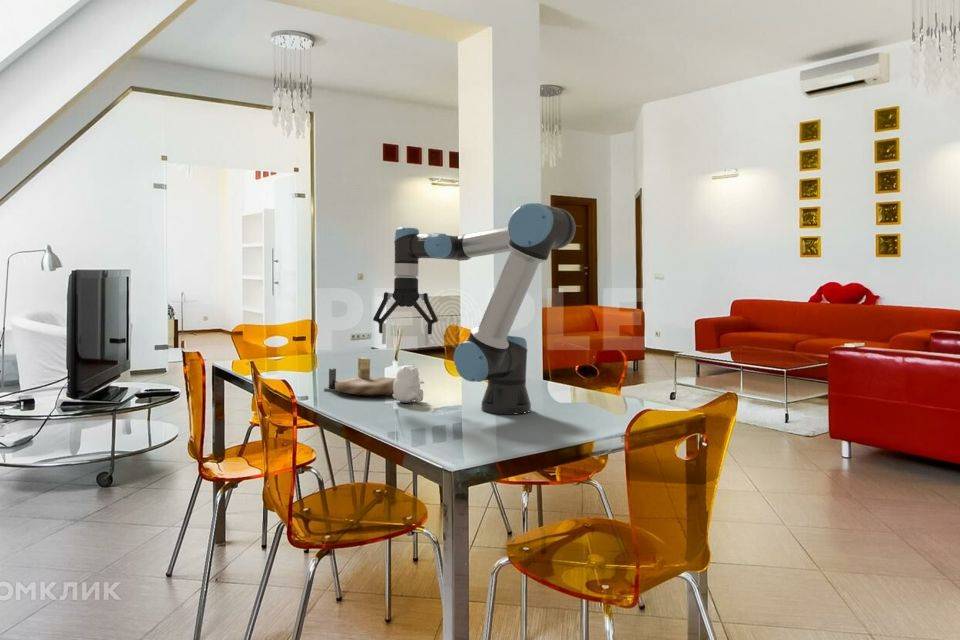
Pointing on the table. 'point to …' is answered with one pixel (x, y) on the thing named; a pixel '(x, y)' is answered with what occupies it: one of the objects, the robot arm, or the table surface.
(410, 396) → the figurine
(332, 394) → the table surface
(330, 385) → the base
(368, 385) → the turntable
